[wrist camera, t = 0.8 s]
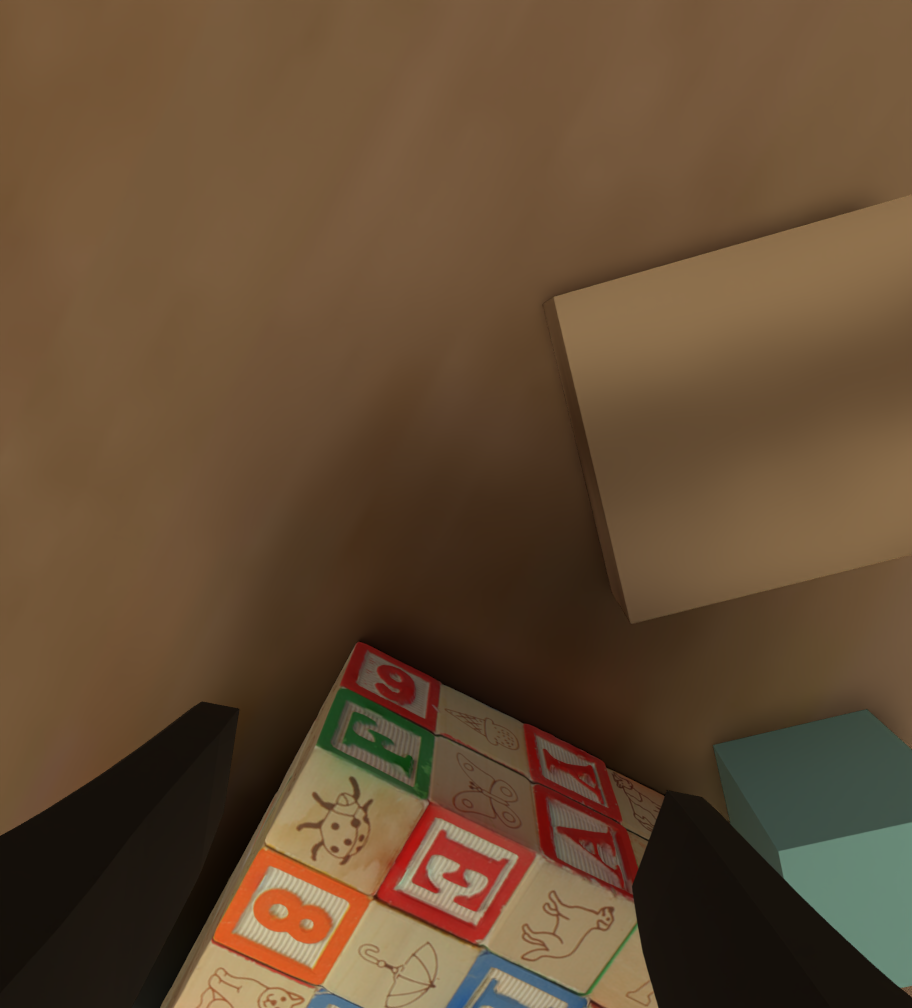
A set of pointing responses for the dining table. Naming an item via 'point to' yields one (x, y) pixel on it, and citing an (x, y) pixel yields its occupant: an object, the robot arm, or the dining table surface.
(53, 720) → the dining table surface
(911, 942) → the teal cube
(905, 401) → the walnut block
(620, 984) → the stack of blocks
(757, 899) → the robot arm
